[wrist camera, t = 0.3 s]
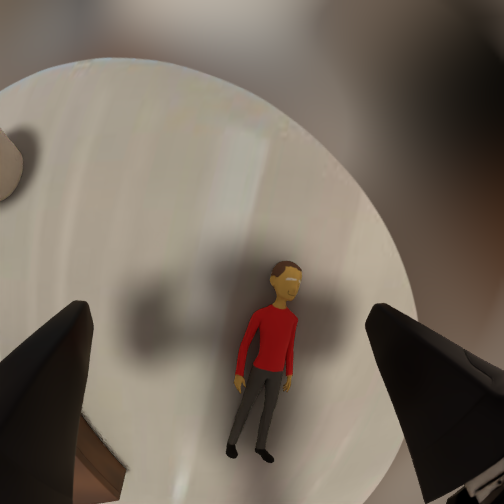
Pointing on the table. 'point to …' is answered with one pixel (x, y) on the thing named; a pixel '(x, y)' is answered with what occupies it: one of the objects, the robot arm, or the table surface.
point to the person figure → (268, 356)
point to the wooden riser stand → (95, 470)
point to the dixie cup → (9, 166)
